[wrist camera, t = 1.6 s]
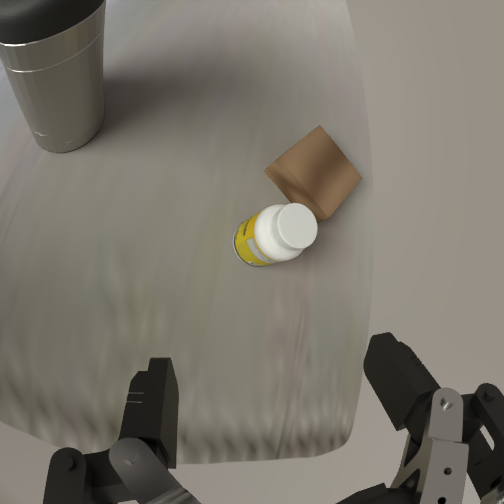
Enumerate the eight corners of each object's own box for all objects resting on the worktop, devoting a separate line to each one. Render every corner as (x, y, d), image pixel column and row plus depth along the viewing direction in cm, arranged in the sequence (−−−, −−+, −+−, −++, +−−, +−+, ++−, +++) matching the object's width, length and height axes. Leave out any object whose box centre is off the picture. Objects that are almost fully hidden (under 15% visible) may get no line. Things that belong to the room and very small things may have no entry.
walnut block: (263, 170, 35) (278, 157, 32) (303, 137, 39) (319, 125, 35) (309, 225, 37) (328, 218, 33) (343, 186, 40) (361, 178, 37)
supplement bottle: (256, 211, 34) (301, 184, 25) (283, 249, 35) (334, 234, 26) (221, 237, 32) (258, 215, 23) (250, 277, 33) (296, 270, 24)
